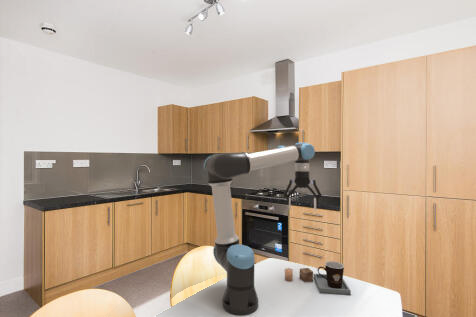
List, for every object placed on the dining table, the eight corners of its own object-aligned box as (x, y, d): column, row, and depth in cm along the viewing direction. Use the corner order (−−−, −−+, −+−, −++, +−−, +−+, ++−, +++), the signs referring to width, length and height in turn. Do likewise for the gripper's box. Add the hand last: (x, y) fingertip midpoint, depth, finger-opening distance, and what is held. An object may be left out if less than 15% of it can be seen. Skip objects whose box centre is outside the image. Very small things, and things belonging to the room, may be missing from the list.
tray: (319, 293, 114) (319, 288, 114) (313, 277, 129) (313, 273, 129) (350, 295, 112) (350, 290, 112) (340, 279, 127) (340, 275, 127)
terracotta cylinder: (285, 281, 125) (285, 271, 125) (284, 277, 129) (284, 268, 129) (293, 281, 125) (292, 271, 125) (292, 278, 129) (292, 268, 129)
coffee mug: (345, 284, 121) (345, 263, 121) (342, 291, 114) (342, 270, 114) (321, 278, 127) (321, 258, 127) (316, 285, 120) (316, 264, 120)
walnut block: (304, 282, 124) (304, 272, 124) (299, 278, 129) (299, 268, 129) (313, 281, 125) (313, 271, 125) (308, 277, 130) (308, 267, 130)
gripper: (279, 170, 133) (279, 210, 133) (327, 171, 130) (327, 211, 129) (278, 170, 141) (279, 207, 140) (324, 170, 137) (324, 209, 137)
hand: (302, 209), depth 135 cm, fingers open, 13 cm apart
